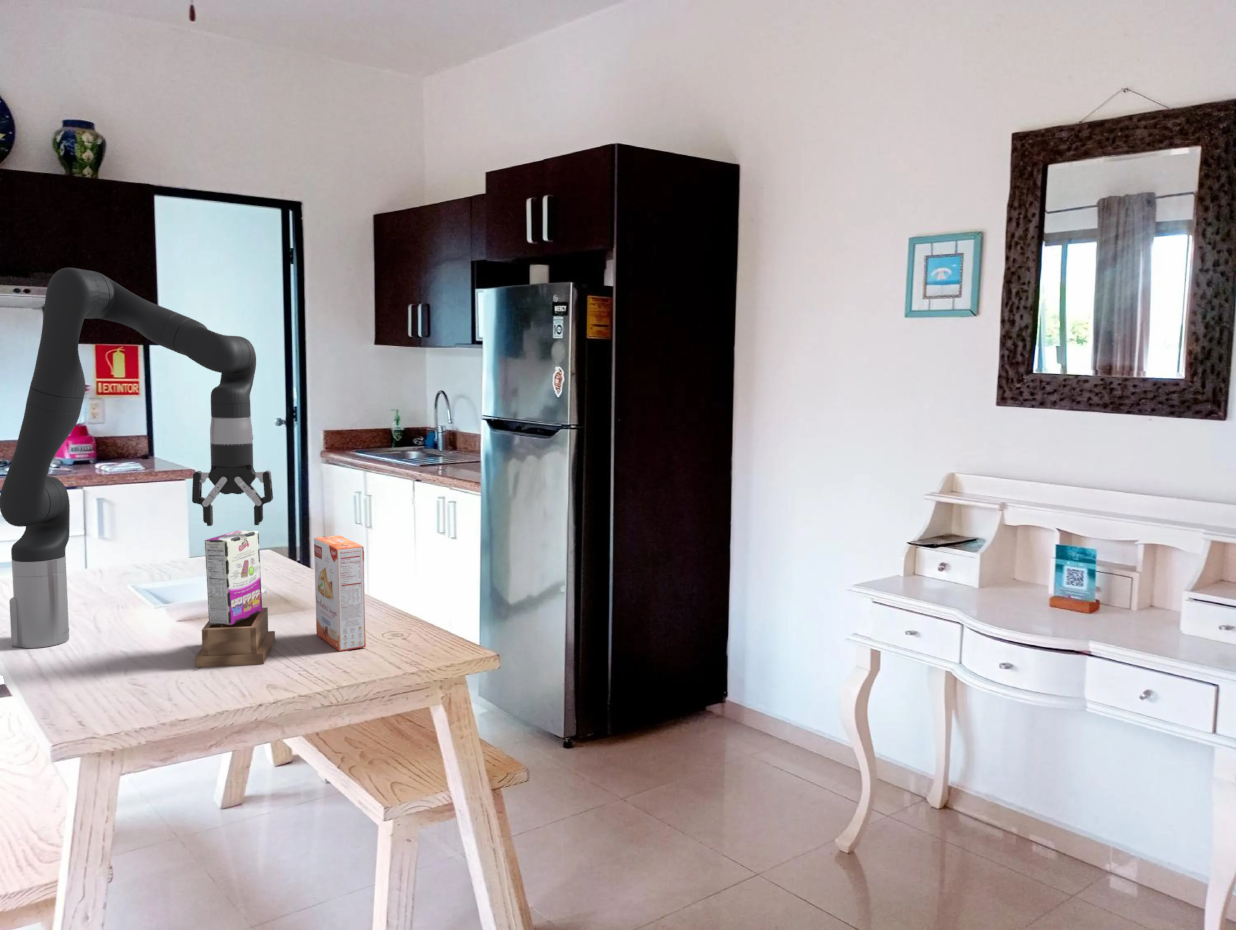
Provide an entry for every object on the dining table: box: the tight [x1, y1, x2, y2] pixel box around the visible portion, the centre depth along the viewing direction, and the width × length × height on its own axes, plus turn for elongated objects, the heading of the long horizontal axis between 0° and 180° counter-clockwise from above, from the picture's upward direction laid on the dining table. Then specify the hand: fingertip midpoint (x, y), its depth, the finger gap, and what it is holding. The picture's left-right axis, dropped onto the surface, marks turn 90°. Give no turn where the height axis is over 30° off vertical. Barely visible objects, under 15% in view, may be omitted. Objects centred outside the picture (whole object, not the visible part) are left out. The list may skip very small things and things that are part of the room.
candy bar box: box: [204, 529, 263, 625], centre depth 187 cm, size 11×5×16 cm, turn 169°
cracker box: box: [313, 534, 367, 652], centre depth 196 cm, size 14×6×21 cm, turn 35°
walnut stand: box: [194, 607, 276, 668], centre depth 188 cm, size 12×16×7 cm
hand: (233, 525), depth 186 cm, fingers open, 8 cm apart
